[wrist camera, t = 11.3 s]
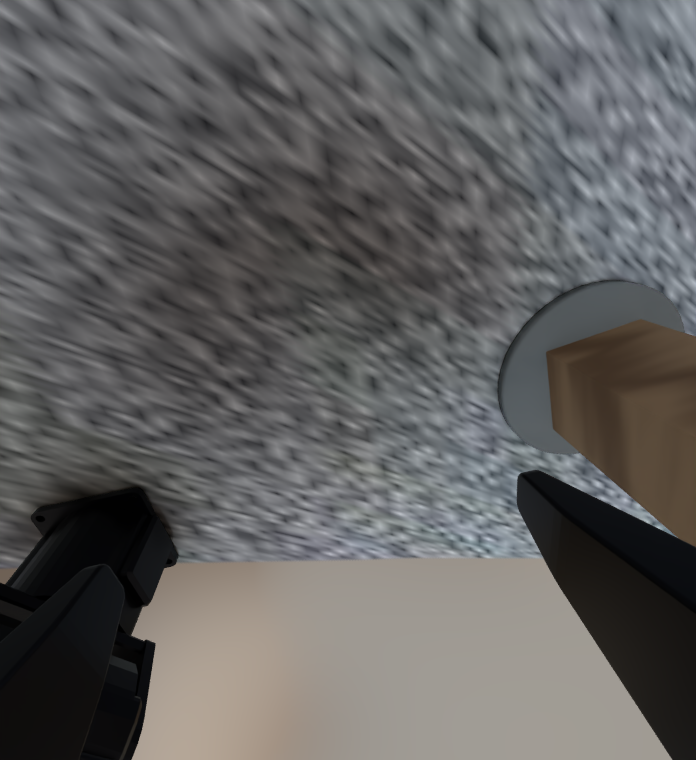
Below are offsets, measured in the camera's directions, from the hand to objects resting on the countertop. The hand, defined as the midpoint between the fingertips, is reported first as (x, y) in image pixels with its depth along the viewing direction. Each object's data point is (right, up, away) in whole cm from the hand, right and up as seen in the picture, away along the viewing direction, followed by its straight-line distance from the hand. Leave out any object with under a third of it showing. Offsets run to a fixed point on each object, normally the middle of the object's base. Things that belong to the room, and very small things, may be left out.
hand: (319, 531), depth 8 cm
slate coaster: (+15, +4, +15) cm, 21 cm away
